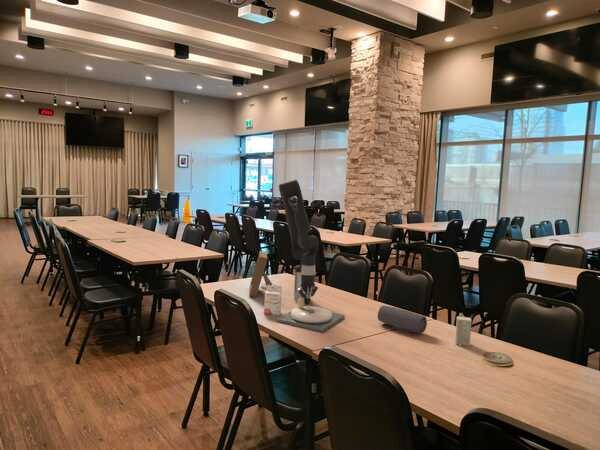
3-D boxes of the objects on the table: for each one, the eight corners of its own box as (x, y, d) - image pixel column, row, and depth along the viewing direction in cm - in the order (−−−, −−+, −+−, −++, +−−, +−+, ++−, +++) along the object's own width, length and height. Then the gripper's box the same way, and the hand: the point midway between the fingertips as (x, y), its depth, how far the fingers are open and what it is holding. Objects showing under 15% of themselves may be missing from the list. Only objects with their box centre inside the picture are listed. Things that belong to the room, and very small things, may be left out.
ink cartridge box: (263, 314, 221) (264, 287, 220) (265, 311, 226) (266, 284, 225) (279, 315, 221) (280, 288, 219) (281, 312, 226) (282, 285, 224)
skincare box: (469, 343, 191) (471, 317, 190) (469, 347, 187) (472, 320, 186) (454, 341, 193) (456, 315, 192) (454, 344, 189) (457, 318, 188)
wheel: (286, 311, 222) (286, 298, 221) (322, 308, 228) (323, 296, 228) (298, 324, 202) (298, 310, 201) (338, 321, 209) (338, 308, 208)
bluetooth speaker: (426, 333, 202) (428, 313, 201) (417, 338, 196) (419, 317, 195) (386, 321, 218) (387, 302, 217) (376, 325, 211) (377, 306, 210)
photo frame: (249, 297, 252) (250, 256, 249) (249, 288, 273) (251, 250, 271) (273, 297, 253) (275, 257, 251) (272, 288, 275) (274, 251, 272)
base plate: (301, 308, 233) (301, 304, 233) (344, 317, 220) (344, 313, 220) (276, 321, 210) (276, 317, 210) (322, 332, 198) (322, 327, 198)
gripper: (313, 270, 229) (312, 301, 231) (294, 272, 222) (293, 304, 224) (322, 273, 223) (321, 304, 225) (302, 275, 216) (301, 308, 218)
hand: (307, 304), depth 224 cm, fingers closed
